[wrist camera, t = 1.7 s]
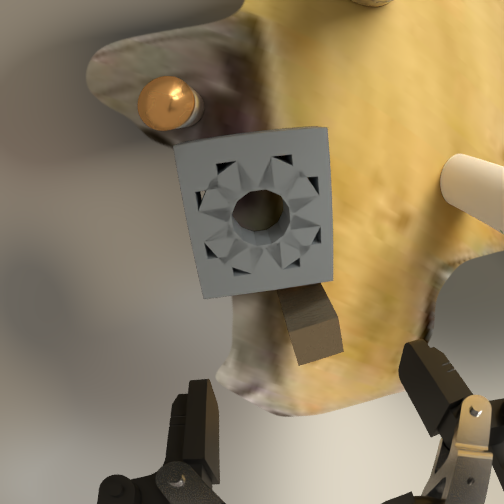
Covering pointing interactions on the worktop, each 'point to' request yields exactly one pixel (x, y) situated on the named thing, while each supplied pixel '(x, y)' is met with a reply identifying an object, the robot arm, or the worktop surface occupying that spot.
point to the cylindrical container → (475, 188)
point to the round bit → (169, 104)
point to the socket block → (252, 179)
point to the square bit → (311, 322)
